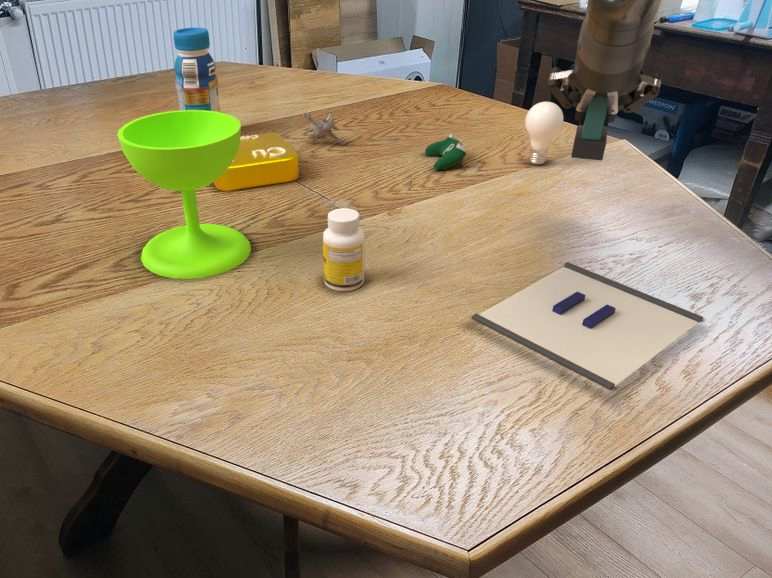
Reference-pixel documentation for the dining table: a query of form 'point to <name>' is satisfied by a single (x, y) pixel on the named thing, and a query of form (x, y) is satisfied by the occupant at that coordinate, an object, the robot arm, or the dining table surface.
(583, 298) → the bar
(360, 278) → the supplement bottle
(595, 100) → the eraser
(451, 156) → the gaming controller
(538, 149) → the lightbulb
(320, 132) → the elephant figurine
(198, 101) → the beverage bottle
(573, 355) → the whiteboard
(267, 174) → the element tile
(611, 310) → the bar
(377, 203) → the dining table surface
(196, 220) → the wineglass
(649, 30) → the robot arm
